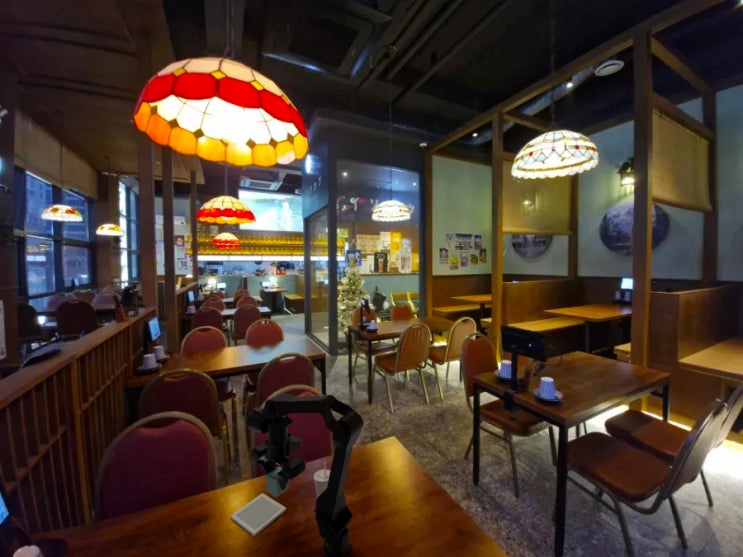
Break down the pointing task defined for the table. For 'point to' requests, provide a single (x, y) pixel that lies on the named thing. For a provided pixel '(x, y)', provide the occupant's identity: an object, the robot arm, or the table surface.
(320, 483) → the smoothie
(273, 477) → the cube
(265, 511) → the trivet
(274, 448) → the robot arm
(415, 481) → the table surface
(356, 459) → the table surface
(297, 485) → the table surface
